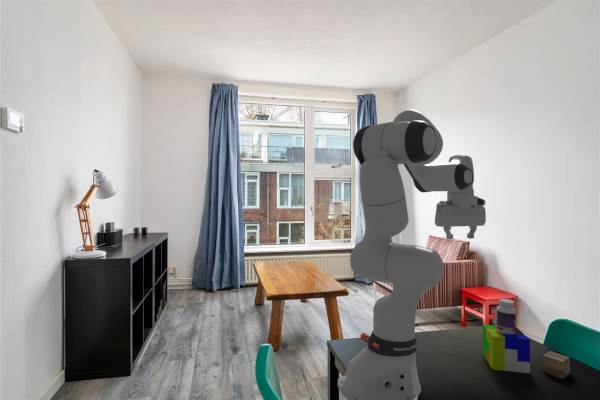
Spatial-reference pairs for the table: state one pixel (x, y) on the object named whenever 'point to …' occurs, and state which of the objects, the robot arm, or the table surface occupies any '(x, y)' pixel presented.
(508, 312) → the pill bottle
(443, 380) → the table surface
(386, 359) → the robot arm
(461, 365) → the table surface
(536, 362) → the table surface
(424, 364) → the table surface
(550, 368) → the walnut block
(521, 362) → the puzzle toy
